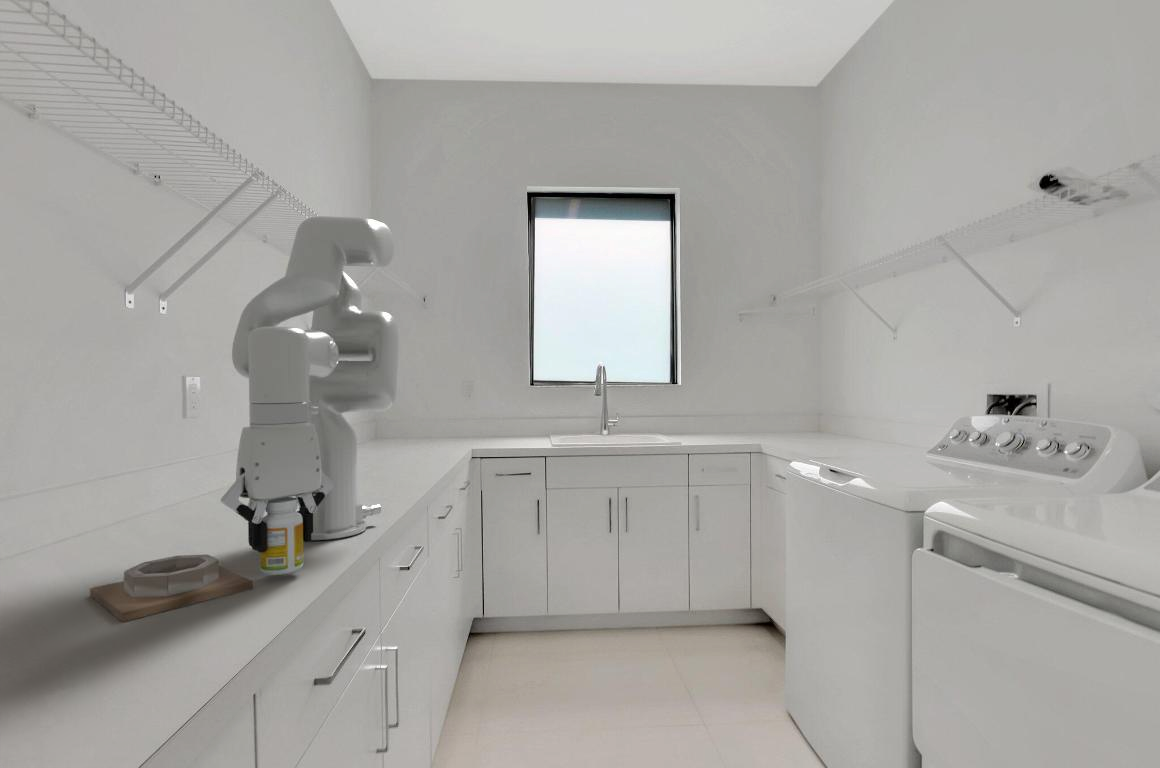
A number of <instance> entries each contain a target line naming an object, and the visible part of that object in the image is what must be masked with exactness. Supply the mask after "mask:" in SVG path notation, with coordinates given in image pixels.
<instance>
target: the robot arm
mask: <svg viewBox="0 0 1160 768" xmlns="http://www.w3.org/2000/svg"><path fill="white" fill-rule="evenodd" d="M291 247H292V248H291V252H290V256H289V260H288V263H287V266H286V267H287V268H286V271H285V275H284V277H281V278H279V279H278V280H276V281H275V282H273V283H271V284H270V285H269V286H267V287H266V288H264V289H263V290H262V291H260V292H259V293H258V294H257V295H255V296H254V297H253V298H252V299H251V300H250V301H249V302H248V303H247V304H246V305H245V307H244V309H243V310H242V312H241V314H240V317H239V321H238V323H237V327H236V331H235V333H234V337H233V343H232V347H231V348H232V349H231V358H232V364H233V367H234V369H235V370H236V372H237V373H238V374H239V375H241V376H242V377H244V378H246V379H248V402H249V406H248V409H249V411H248V413H249V426H244V427H242V429H241V434H240V438H239V445H238V450H237V451H238V452H237V459H236V471H235V481H234V483H233V484H232V485H231V486H230V487H229V489H227V491H226V492H225V493H224V494H223V496H222V497H220V504H223V505H224V506H226V507H227V508H229V509H230V510H233V511H234V512H235V513H236V514H237V515H239V516H240V517H242V518H243V519H244V520H245V521H247V522H248V523H247V524H248V527H247V528H248V530H247V531H248V535H247V536H248V538H247V539H248V545H249V546H250V547H251V549H252V550H253V551H256V552H258V553H259V554H260V553H262V552H265V551H266V550H267V524H266V523H265V522H263V517H264V515H265V512H266V510H265V509H266V506H267V503H268V500H274V499H280V498H286V497H294V498H297V505H298V507H299V510H298V511H296V512H297V513H299V514H301V515H302V517H303V542H305V543H310V542H312V541H321V540H322V541H323V540H324V541H325V540H326V541H327V540H335V539H342V538H347V537H350V536H351V537H352V536H355V535H358V534H360V533H363V532H364V531H366V530H367V522H366V521H364V520H365V519H366V518H367V516H377V515H380V514H381V513H382V507H381V505H380V504H379V503H377V504H372V505H369V506H368V505H363V504H360V503H358V438H357V433H356V431H355V429H354V428H353V426H352V424H351V423H349V422H348V420H347V419H346V418H345V417H344V415H343V413H364V412H365V413H366V412H369V413H371V412H383V411H387V410H389V409H391V407H392V406H393V405H394V403H395V402H396V401H395V400H396V396H397V383H398V363H399V361H398V360H399V346H400V345H399V343H400V341H399V329H398V325H397V322H396V319H395V318H394V317H393V315H391V314H390V313H388V312H386V311H382V310H361V308H362V298H363V294H362V291H361V289H360V287H359V286H358V285H357V284H356V282H355V281H354V279H352V278H351V277H350V276H349V275H347V273H346V272H345V271H344V267H378V268H379V267H381V268H384V267H387V266H388V265H389V264H390V263H391V262H392V260H393V257H394V254H395V241H394V235H393V234H392V231H391V229H390V228H389V227H388V225H387V224H385V223H384V222H380V221H378V220H375V219H371V218H367V217H351V216H330V215H329V216H325V215H324V216H323V215H321V216H319V215H318V216H312V217H309V218H306V219H304V220H303V221H302V222H301V223H300V224H299V225H298V228H297V230H296V234H295V237H294V241H293V244H292V246H291ZM309 313H312V319H311V320H312V321H311V328H310V330H308V329H307V330H305V329H302V328H299V327H292V326H278V325H280V324H282V323H284V322H286V321H288V320H290V319H293V318H296V317H299V316H303V315H305V314H309ZM239 498H244V499H249V500H248V503H247V505H246V504H245V503H243V502H242V501H240V499H239Z"/></svg>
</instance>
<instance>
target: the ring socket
mask: <svg viewBox="0 0 1160 768" xmlns="http://www.w3.org/2000/svg"><path fill="white" fill-rule="evenodd" d="M89 589H90V590H89V596H90V597H91V598H92V599H93V600H94V601H96V602H98V604H99V605H101V606H102V607H103V608H104V609H106V610H107V611H108V612H110V613H111V614H112V615H114V616H115V617H116V618H117V619H119V620H120V621H121V622H122V623H124V622H128V621H131V620H136V619H139V618H142V617H147V616H150V615H156V614H158V613H162V611H163V612H166V610H167V611H171V610H175V609H177V608H182V607H186V606H190V605H194V604H196V603H201V602H206V601H208V600H213V599H216V598H221V597H224V596H229V595H232V594H233V595H234V594H236V593H240V592H244V591H248V590H251V589H254V580H253V579H250V578H248V577H245V576H244V575H241V574H240V573H236V572H235V571H233V570H230V569H227V568H225V567H223V566H221V565H220V564H219V558H217V557H215V556H212V555H210V554H192V555H191V554H186V555H185V554H184V555H183V554H182V555H174V556H170V557H169V556H168V557H165V558H164V557H163V558H158V559H154V560H148V561H144V562H141V563H139V564H136V565H134V566H133V567H132V566H131V567H130V568H128V569H126V570H124V571H123V580H122V581H117V582H112V583H108V584H104V585H103V584H102V585H98V586H93V587H89ZM174 608H175V609H174ZM170 609H171V610H170Z"/></svg>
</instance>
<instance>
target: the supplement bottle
mask: <svg viewBox="0 0 1160 768" xmlns="http://www.w3.org/2000/svg"><path fill="white" fill-rule="evenodd" d="M298 507H299V505H298V503H297V498H296V497H295V496H292V497H286V498H280V499H274V500H268V503H267V506H266V509H265V512H266V513H267V514H266V515H265V516H264V515H263V522H265V523H266V524H267V550H266V551H265V552H262V553H260V552H259V554H260V556H259V557H260V558H259V559H260V561H259V563H260V565H259V566H260V572H261V573H262V574H265V575H284V574H290V573H292V572H296V571H298V570H299V569H301V568H302V567H303V566H304V541H303V517H302V515H301V514H299V513H297V511H296V510H298Z"/></svg>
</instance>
